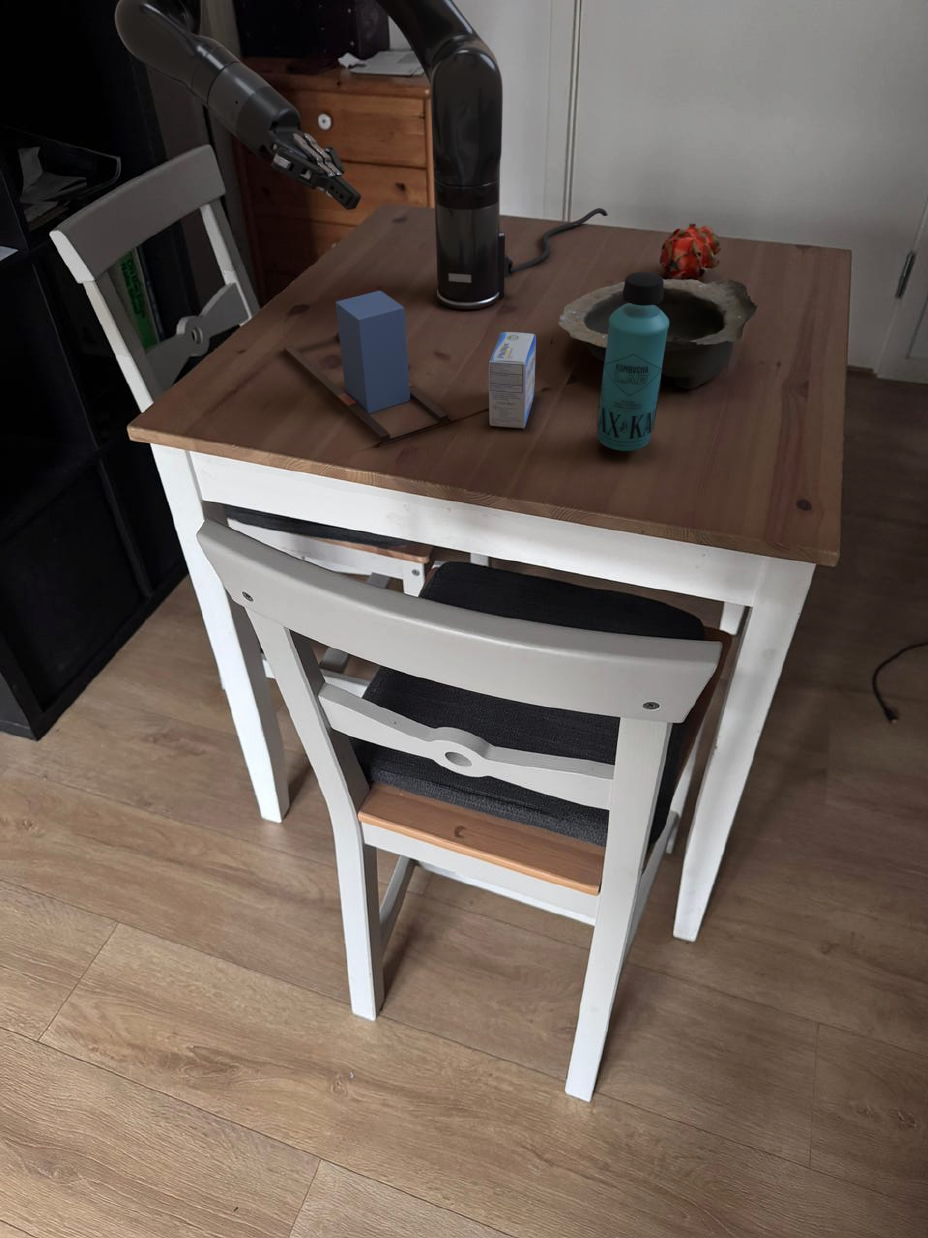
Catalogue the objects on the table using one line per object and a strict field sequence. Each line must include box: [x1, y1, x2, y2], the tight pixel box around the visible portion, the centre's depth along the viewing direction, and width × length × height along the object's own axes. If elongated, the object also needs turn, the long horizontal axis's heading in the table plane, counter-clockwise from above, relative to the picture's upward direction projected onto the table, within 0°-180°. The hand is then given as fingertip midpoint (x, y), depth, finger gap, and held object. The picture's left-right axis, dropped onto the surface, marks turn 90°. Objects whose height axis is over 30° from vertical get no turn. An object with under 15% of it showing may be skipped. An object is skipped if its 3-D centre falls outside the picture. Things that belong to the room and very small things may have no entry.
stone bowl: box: [557, 278, 759, 390], centre depth 117 cm, size 25×25×9 cm
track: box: [283, 331, 452, 448], centre depth 115 cm, size 10×28×1 cm, turn 32°
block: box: [334, 290, 411, 415], centre depth 108 cm, size 6×6×12 cm
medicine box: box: [488, 331, 537, 429], centre depth 107 cm, size 8×4×9 cm, turn 168°
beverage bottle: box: [595, 271, 669, 452], centre depth 97 cm, size 6×7×20 cm
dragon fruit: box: [659, 222, 722, 281], centre depth 138 cm, size 8×8×12 cm
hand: (355, 203), depth 114 cm, fingers closed
